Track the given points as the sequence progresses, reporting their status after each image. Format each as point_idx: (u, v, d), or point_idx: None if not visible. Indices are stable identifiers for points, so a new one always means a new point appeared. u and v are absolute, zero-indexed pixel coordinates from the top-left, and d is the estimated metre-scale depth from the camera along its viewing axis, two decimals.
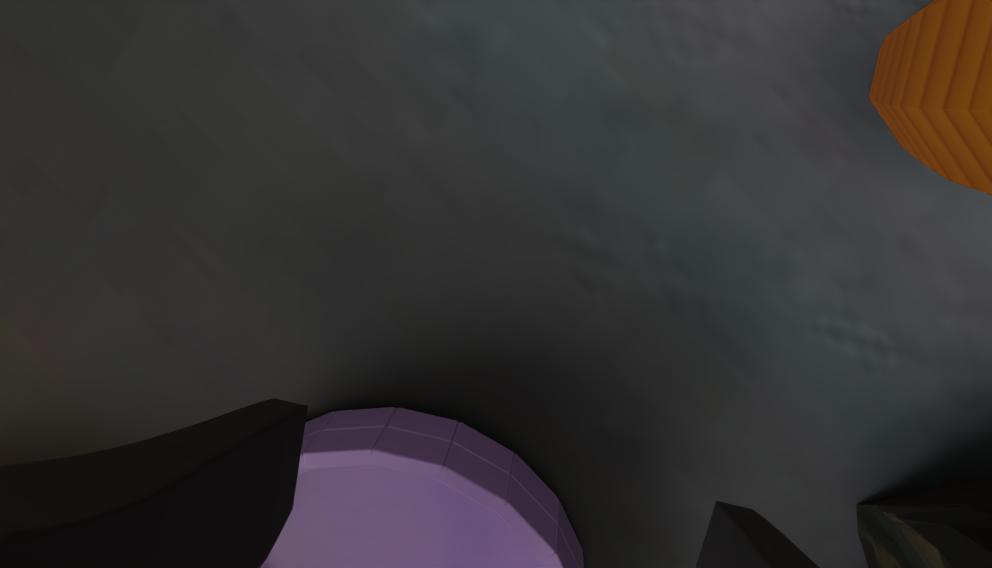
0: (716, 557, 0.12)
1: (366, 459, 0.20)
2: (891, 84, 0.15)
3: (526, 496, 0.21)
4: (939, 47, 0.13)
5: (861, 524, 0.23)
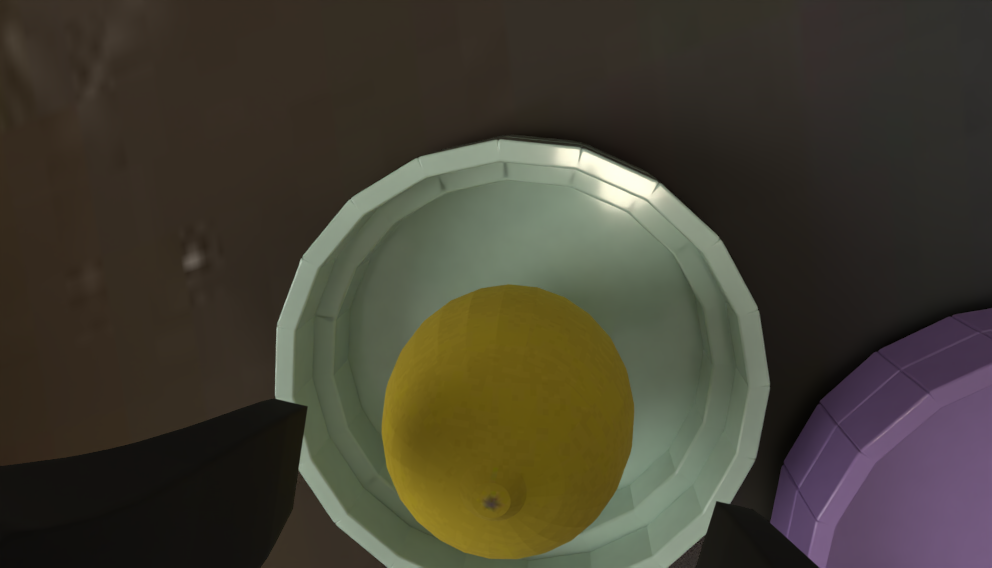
0: (716, 557, 0.12)
1: None
2: None
3: None
4: None
5: None
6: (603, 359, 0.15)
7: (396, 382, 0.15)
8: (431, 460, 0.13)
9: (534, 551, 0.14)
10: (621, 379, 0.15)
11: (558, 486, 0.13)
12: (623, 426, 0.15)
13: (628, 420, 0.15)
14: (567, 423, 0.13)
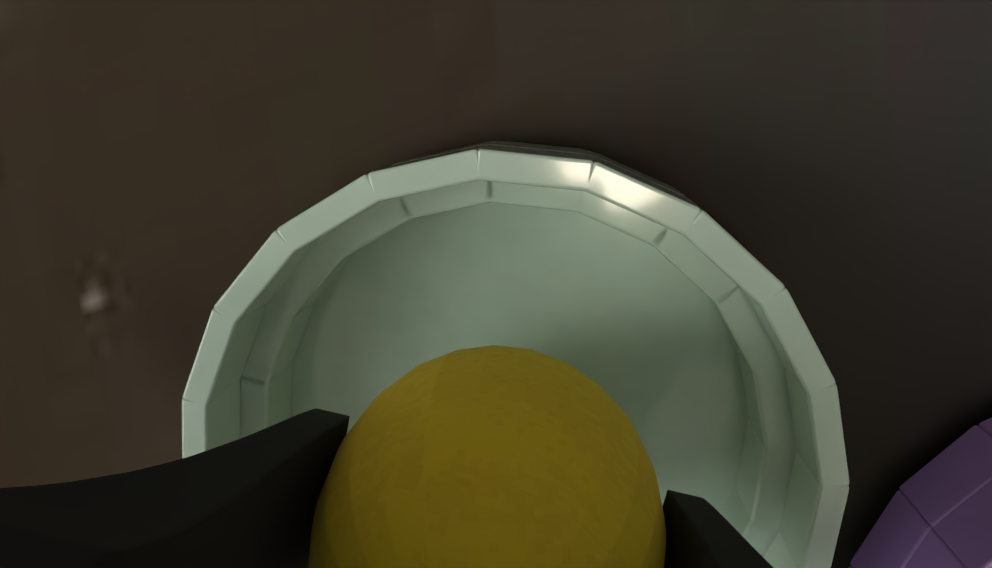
0: None
1: None
2: None
3: None
4: None
5: None
6: (623, 468, 0.10)
7: (326, 501, 0.10)
8: None
9: None
10: (649, 493, 0.11)
11: None
12: None
13: (660, 555, 0.10)
14: None
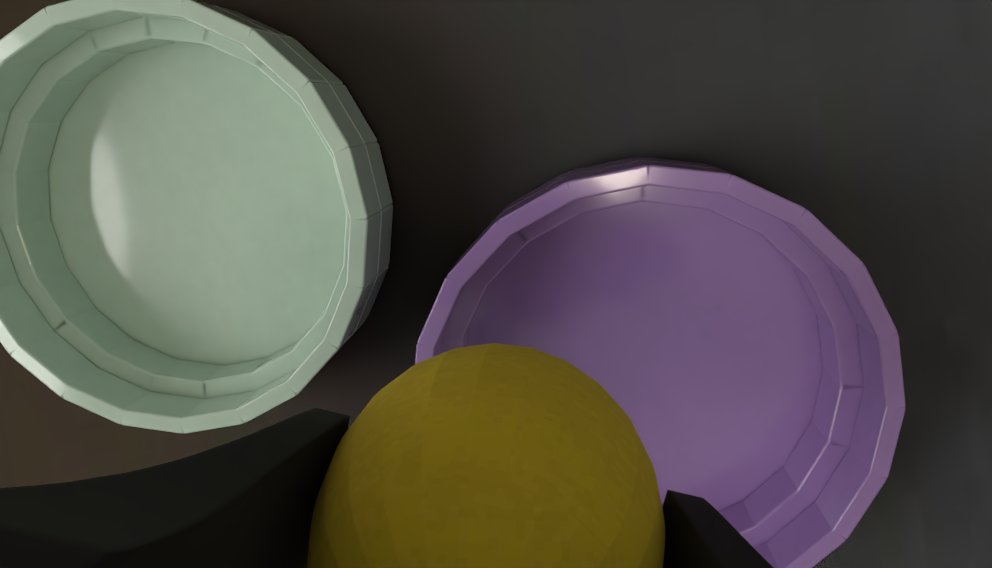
0: None
1: (793, 216, 0.18)
2: None
3: None
4: None
5: None
6: (623, 465, 0.10)
7: (325, 498, 0.10)
8: None
9: None
10: (648, 490, 0.11)
11: None
12: (653, 566, 0.10)
13: (659, 552, 0.10)
14: None
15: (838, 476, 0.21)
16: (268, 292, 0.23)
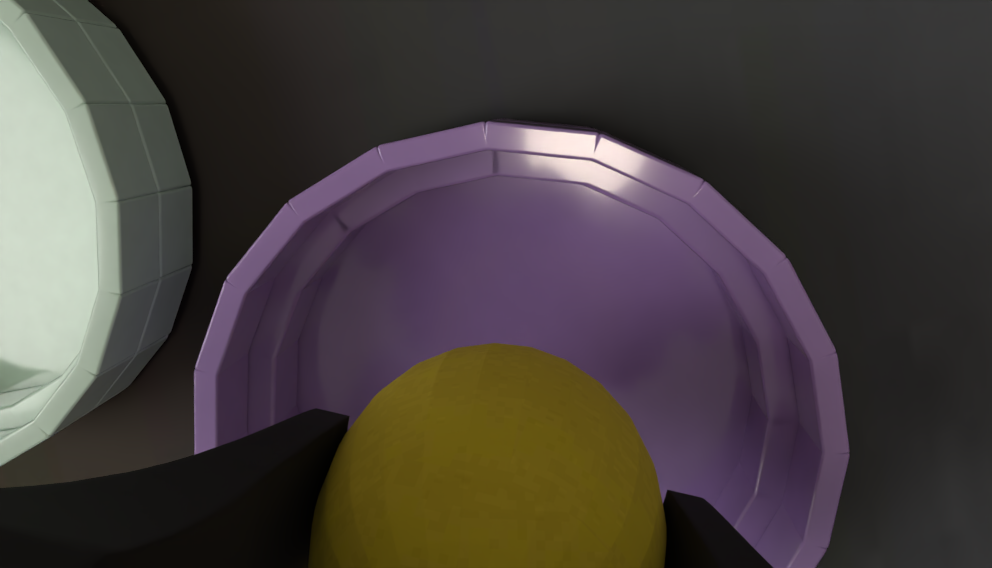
0: None
1: (686, 190, 0.13)
2: None
3: None
4: None
5: None
6: (624, 464, 0.10)
7: (326, 498, 0.10)
8: None
9: None
10: (650, 490, 0.11)
11: None
12: (654, 566, 0.10)
13: (660, 552, 0.10)
14: None
15: (767, 539, 0.15)
16: (45, 301, 0.18)
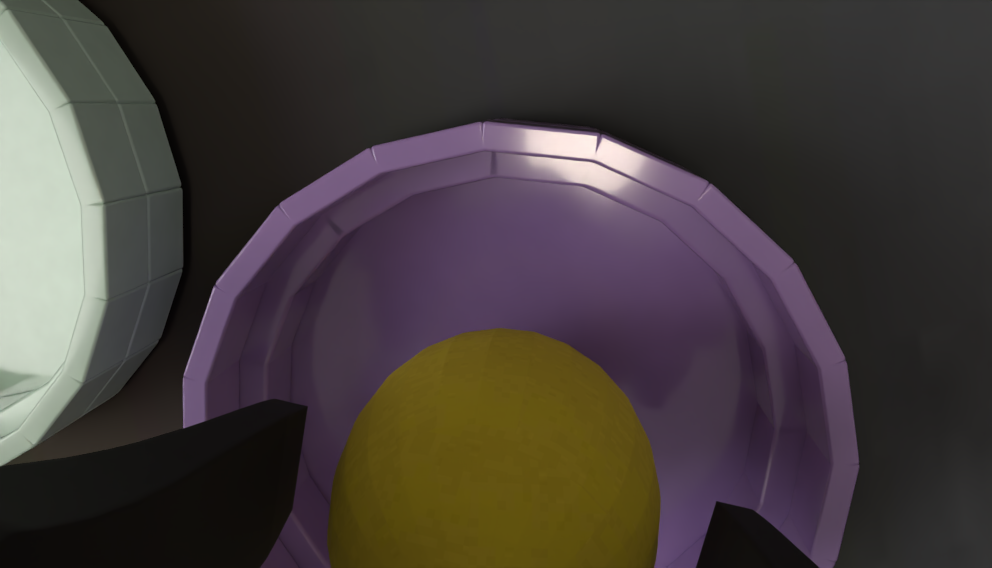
0: (716, 557, 0.12)
1: (691, 193, 0.12)
2: None
3: None
4: None
5: None
6: (621, 437, 0.11)
7: (345, 468, 0.11)
8: None
9: None
10: (645, 462, 0.12)
11: None
12: (649, 530, 0.11)
13: (654, 518, 0.11)
14: (575, 539, 0.10)
15: None
16: (33, 305, 0.17)
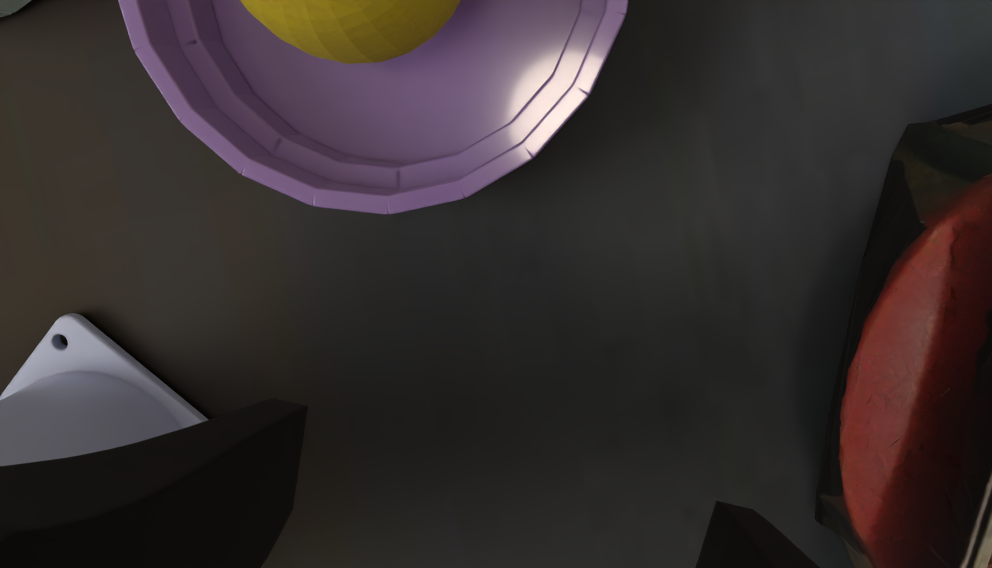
0: (716, 557, 0.12)
1: None
2: None
3: None
4: None
5: (904, 142, 0.20)
6: None
7: None
8: None
9: None
10: None
11: None
12: None
13: None
14: None
15: None
16: None
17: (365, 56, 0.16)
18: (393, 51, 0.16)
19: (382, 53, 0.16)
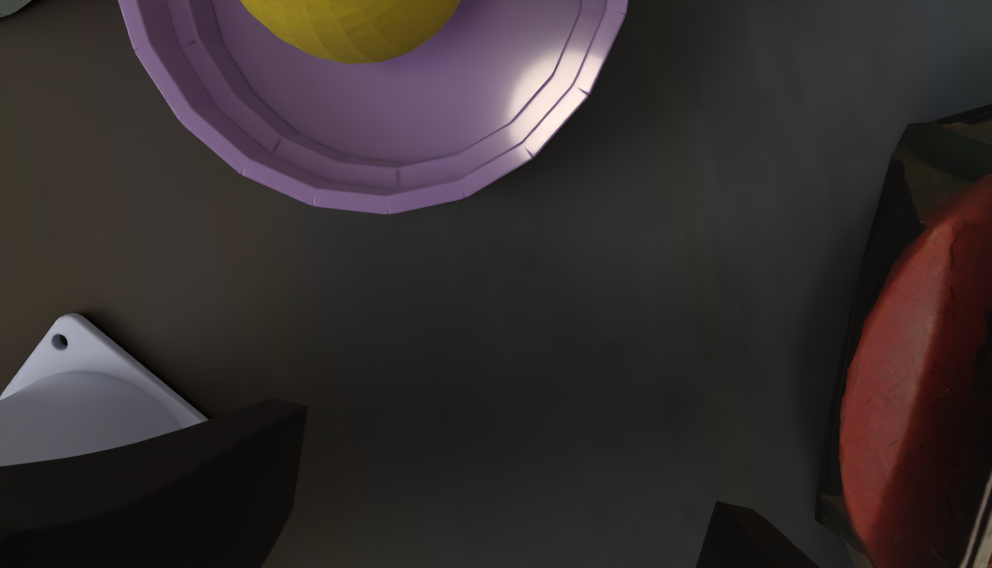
0: (716, 557, 0.12)
1: None
2: None
3: None
4: None
5: (904, 142, 0.20)
6: None
7: None
8: None
9: None
10: None
11: None
12: None
13: None
14: None
15: None
16: None
17: (365, 56, 0.16)
18: (393, 51, 0.16)
19: (382, 53, 0.16)
